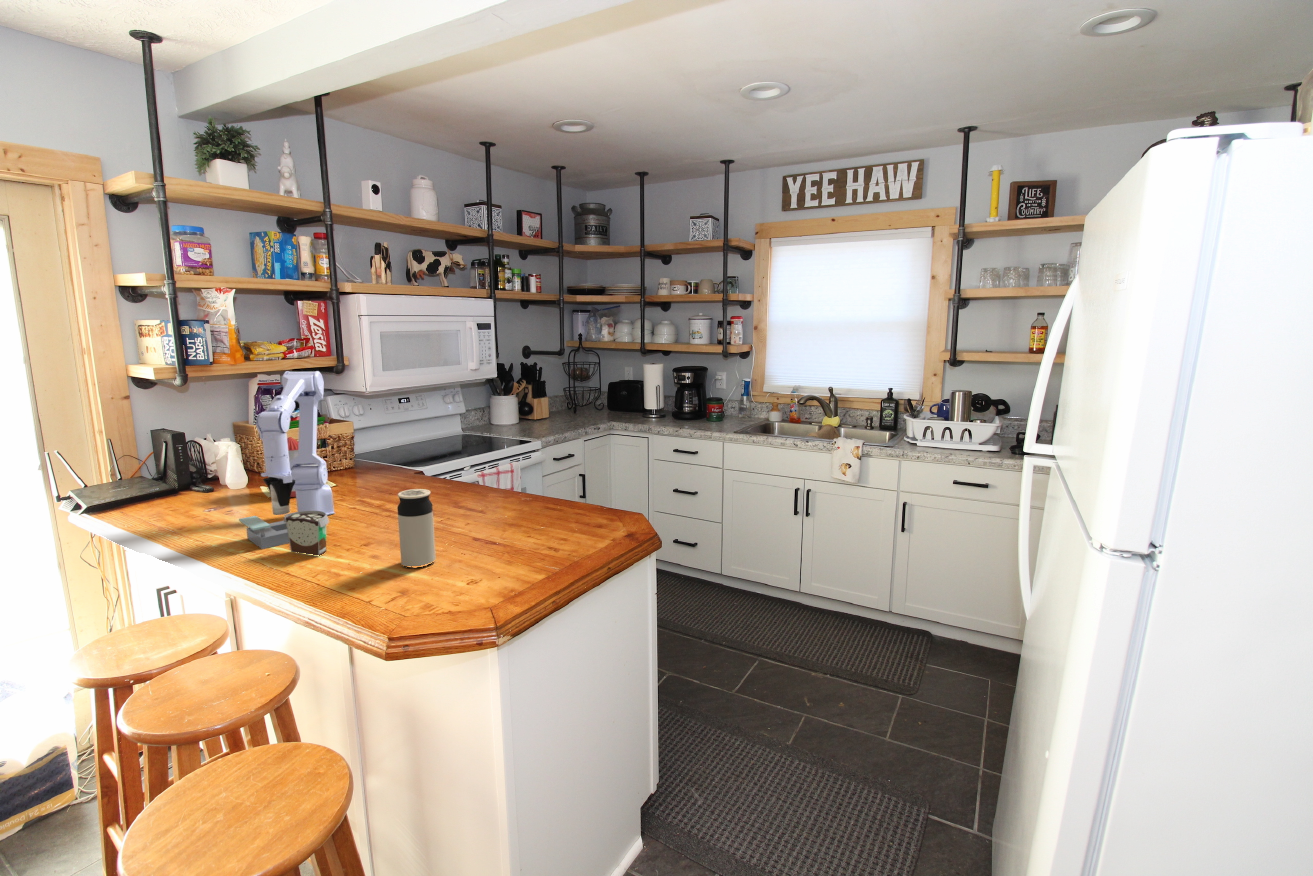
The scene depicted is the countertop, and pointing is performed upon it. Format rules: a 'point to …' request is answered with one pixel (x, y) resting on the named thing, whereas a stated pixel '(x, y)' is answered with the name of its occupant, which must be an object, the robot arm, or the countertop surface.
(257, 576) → the countertop surface
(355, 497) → the countertop surface
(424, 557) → the travel mug
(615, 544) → the countertop surface
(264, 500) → the countertop surface
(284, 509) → the peg
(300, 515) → the food container
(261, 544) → the socket block
